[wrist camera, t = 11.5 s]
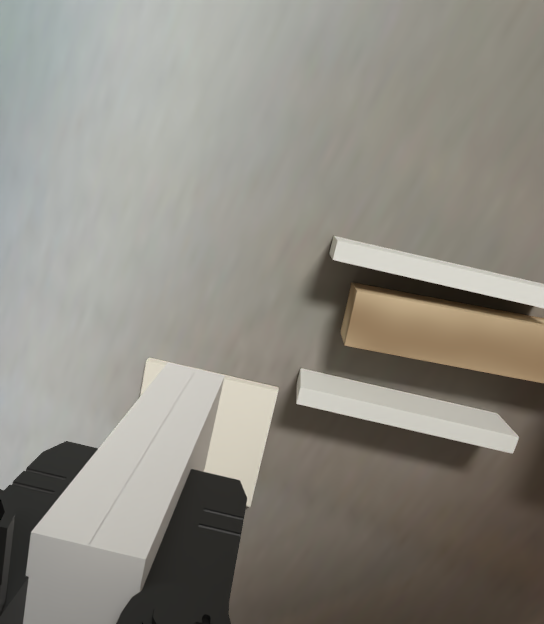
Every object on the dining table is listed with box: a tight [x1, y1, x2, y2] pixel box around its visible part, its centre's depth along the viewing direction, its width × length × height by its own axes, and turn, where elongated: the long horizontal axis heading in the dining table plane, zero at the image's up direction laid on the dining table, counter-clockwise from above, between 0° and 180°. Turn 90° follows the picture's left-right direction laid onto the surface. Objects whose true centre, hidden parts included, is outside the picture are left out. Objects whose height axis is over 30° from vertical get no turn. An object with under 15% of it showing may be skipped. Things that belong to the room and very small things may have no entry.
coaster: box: [140, 358, 279, 507], centre depth 30 cm, size 8×8×1 cm
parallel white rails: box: [296, 236, 544, 454], centre depth 27 cm, size 9×12×3 cm
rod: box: [341, 282, 544, 383], centre depth 27 cm, size 3×14×3 cm, turn 80°
